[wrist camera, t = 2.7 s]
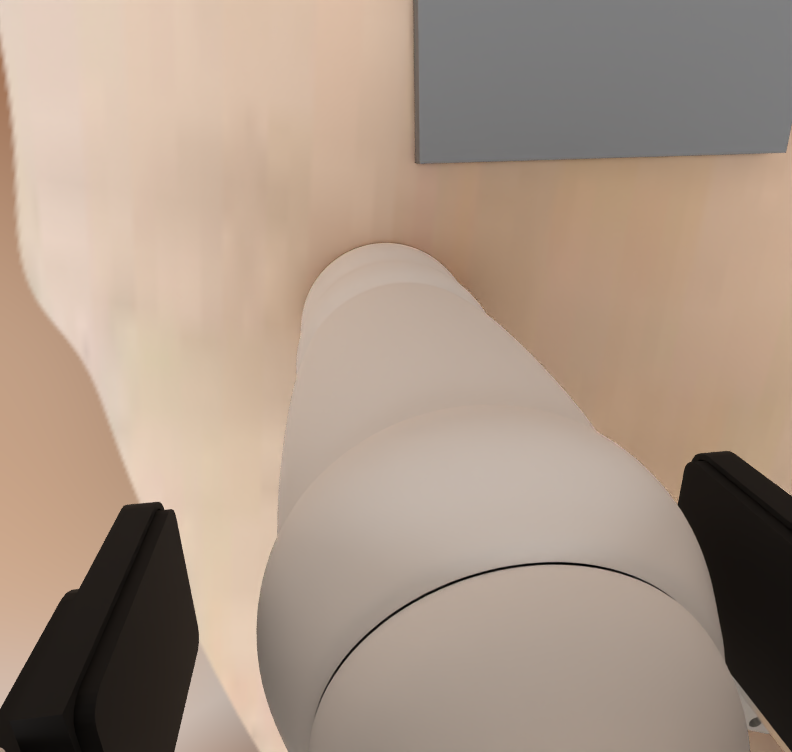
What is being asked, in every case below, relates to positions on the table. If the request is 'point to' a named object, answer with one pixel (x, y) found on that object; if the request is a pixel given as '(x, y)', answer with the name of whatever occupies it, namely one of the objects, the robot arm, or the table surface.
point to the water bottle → (471, 546)
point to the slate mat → (600, 78)
